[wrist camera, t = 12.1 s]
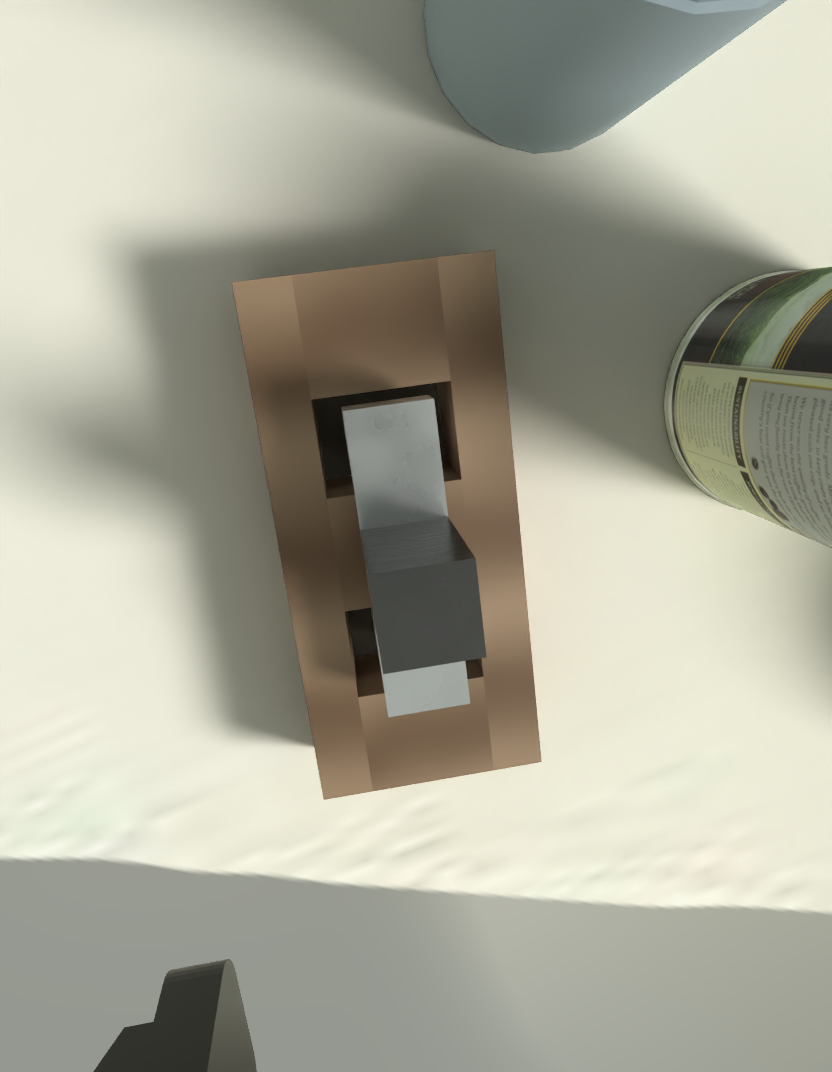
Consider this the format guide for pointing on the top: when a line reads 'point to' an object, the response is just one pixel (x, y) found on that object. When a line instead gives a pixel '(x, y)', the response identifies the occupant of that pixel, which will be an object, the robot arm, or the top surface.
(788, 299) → the coffee can
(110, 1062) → the robot arm
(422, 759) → the wooden block with holes
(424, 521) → the clip
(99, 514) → the top surface
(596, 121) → the spray bottle
